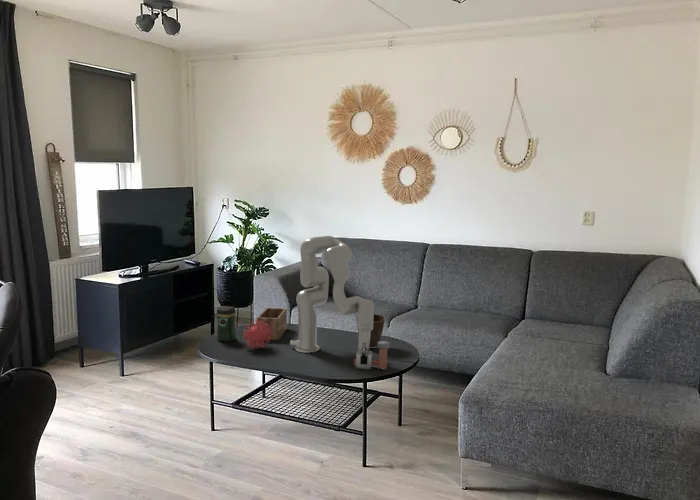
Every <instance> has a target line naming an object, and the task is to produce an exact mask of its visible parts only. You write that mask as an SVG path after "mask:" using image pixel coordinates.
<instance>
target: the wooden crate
mask: <svg viewBox="0 0 700 500" xmlns="http://www.w3.org/2000/svg"><path fill="white" fill-rule="evenodd" d="M287 311H288V309H287V308H276V307H275V308H273V307H265V309H264V310H262V311H261V313H260V314H259V315H258V316H257V317H256V320H258V321H256V322H261V321H263V322H264V323H265V324H266V323H267V324H268V325H269V326H270V331H272V333H270V331H269V330H268V329H267V330H268V332H269V333H270V334H272V336H269V337H270V338H269V339H270V340H269V339H267V337H268V336H267V337H266V338H265V339H267V340H269V341H280V339H281V337H282V336H283V335H284V333H285V332H286V330H287V328H288V327H287V326H288V321H287V319H288V318H287V317H288V316H287ZM263 322H262V323H261V326H262V325H265V324H263ZM256 324H257V325H258V324H260V323H256ZM265 326H266V325H265ZM265 326H264V327H265ZM267 327H268V326H266V328H267ZM268 328H269V327H268ZM267 340H266V341H267Z"/></svg>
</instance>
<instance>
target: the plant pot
mask: <svg viewBox="0 0 700 500" xmlns="http://www.w3.org/2000/svg"><path fill="white" fill-rule="evenodd" d="M356 320H357V316H356ZM385 320H386V317H385V316H383V315H380V314H376V313H375V314H374V315H373V330H371V332H370V346H369V347H375V346H377V342H380V341H381V337H382V334H383V330H384V326H385ZM357 331H358V333H359V330H358V329H357Z"/></svg>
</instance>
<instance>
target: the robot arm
mask: <svg viewBox="0 0 700 500" xmlns="http://www.w3.org/2000/svg"><path fill="white" fill-rule="evenodd" d="M299 252H300V259H301V260H300V275H299V278H300V284H301V286H302V287H304V288H306V289H303V290H300V291H299V292H298V293H297V295H296V298H295V299H296V304H297V305H296V306H297V318H298V321H297V322H298V323H297V324H298V325H297V326H298V327H297V328H298V331H297V334H298V336H297V337H298V338H297V339H296V340H292V339H291V340H290V342H289V344H290V345H291V346H294V347H295V351H297V352H299V353H305V354H311V352H312V353H316V352H318V351H319V350H320V348H321V347H320V345H318V343H317V340H318V338H317V337H318V336H317V335H318V318H317V317H318V316H317V315H318V314H317V312H316V310H315V307H318V306H321V305H323V304H325V303H326V302H327V301H328V298H329V285H330V284H329V282H330V277H329V273H328V272H329V271H328V270H327V269H326V268H325V267H323V266H318V264H319V262H318V261H319V260H318V258H317V255H319V254H320V255H321V254H325V255H324V256H325V258H326V259H325V260H326V262H327V265H328V267H329V269H330V272H331V275H332V278H333V281H334V282H333V287H332V298H333V301H334V304H335V306H336V308H337V311H338V312H339V313H340V314H341V315H344V316H345V315H346V316H348V315H351V314H353V313H357V316H356V317H357V319H356V329H357V331H358V330H359V332H358V348H357V349H358V350H359V351H360V350H361V356H360V364H364V365H367V351H370V349H369V346H370V332H371V330H373V315H374V311H375V310H374V309H375V308H374V307H375V304H374V301H373V300H371V299H369V298H368V299H366V298H363V297H361V296H357V295H354V296H351V297H347V296H346V293H345V284H346V282H347V281H348V279H350V277H351V276H352V274H351V271H350V267H349V266H348V263H347V262H349V261H351V259H352V257H353V252H352V249H351V248H350V247H349V246H348V245H347V244H346V243H344V241H341V240H339V239H337V238H336V237H334V236H333V235H324V236H322V235H321V236H315V237H310V238H306V239H305V240H303V242H302V243H301V245H300V251H299ZM311 287H312V288H311ZM358 350H357V351H358Z"/></svg>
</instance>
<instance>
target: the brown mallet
mask: <svg viewBox="0 0 700 500" xmlns="http://www.w3.org/2000/svg"><path fill="white" fill-rule="evenodd" d="M390 347H391V343H390V342H389V341H385V340H382V341H381V340H380V341H379V342H377V348H376V349H379V352H378V354H379V355H378V356H379V357H378V359H376V358H372V360H371V366H379V368H387V367H388V366H387V365H388V364H387V360H388V350H389V349H390ZM356 360H357V357H356V358H354V359H353V367H354V366H356ZM379 368H378V369H379ZM387 369H388V368H387Z"/></svg>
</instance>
